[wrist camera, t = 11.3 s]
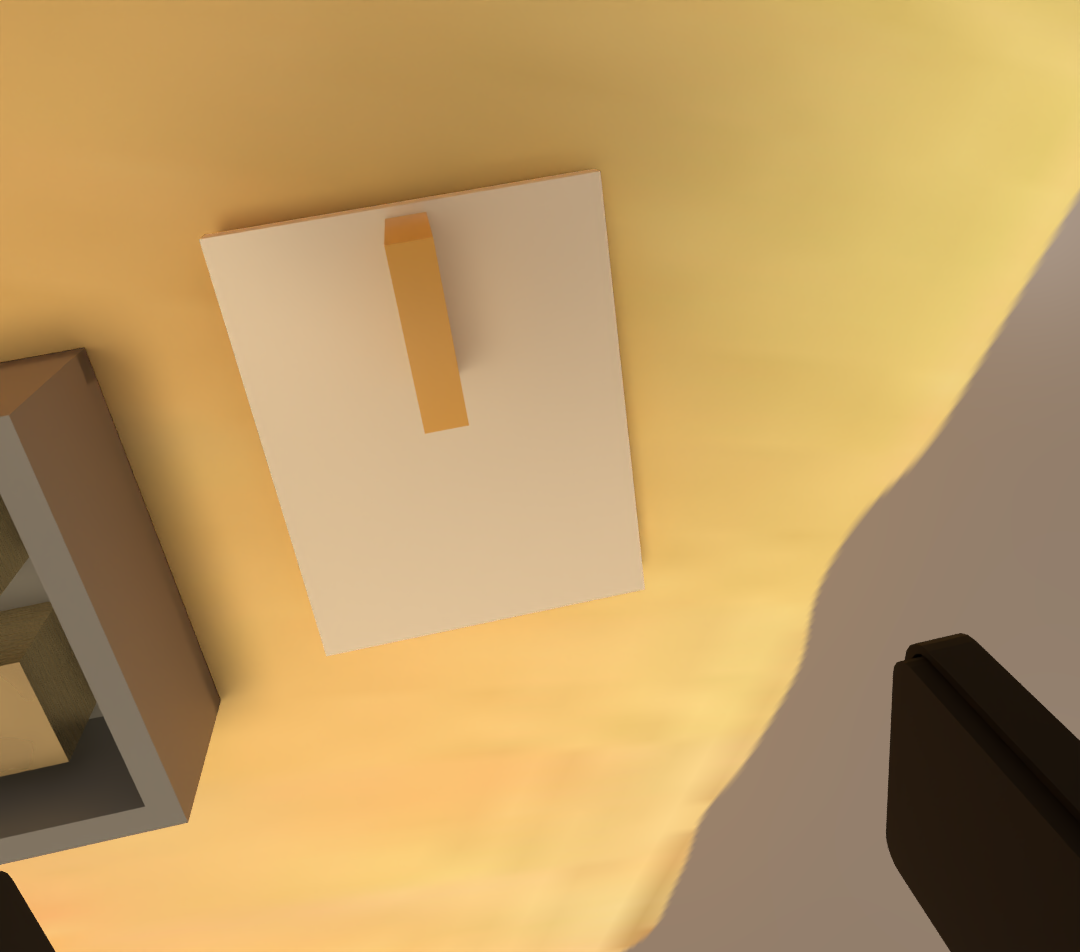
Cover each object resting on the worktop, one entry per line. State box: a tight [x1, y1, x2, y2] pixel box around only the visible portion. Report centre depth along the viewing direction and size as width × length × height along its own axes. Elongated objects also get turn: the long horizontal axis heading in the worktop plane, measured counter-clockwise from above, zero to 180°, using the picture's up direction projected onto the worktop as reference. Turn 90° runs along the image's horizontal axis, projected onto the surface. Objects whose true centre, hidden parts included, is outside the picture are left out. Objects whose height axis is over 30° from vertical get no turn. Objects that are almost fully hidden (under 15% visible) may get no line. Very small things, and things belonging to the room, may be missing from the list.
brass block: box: [0, 602, 97, 777], centre depth 29 cm, size 4×4×4 cm
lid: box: [199, 169, 645, 656], centre depth 27 cm, size 15×12×6 cm
